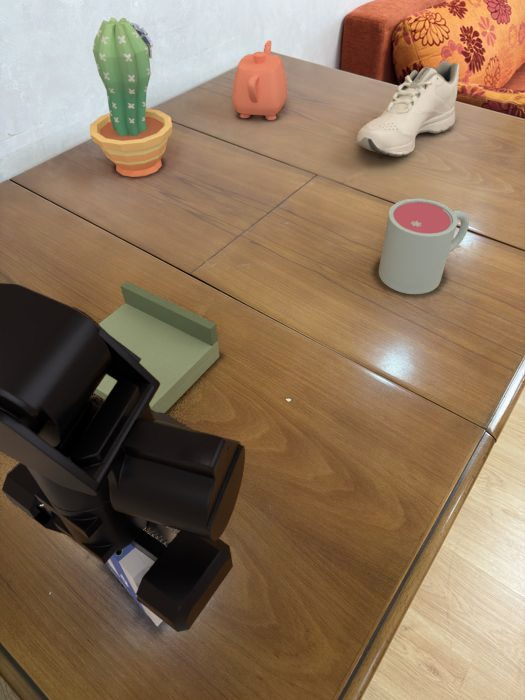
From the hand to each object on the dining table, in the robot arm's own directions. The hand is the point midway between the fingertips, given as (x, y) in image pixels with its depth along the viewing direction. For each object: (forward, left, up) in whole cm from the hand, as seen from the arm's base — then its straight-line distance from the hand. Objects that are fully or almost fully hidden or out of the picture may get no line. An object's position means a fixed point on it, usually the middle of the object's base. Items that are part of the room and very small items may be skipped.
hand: (135, 564), depth 47 cm
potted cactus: (+59, +56, -5) cm, 81 cm away
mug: (+58, -3, -5) cm, 58 cm away
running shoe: (+96, +17, -5) cm, 97 cm away
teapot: (+93, +50, -5) cm, 105 cm away
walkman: (0, 0, -5) cm, 5 cm away
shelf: (+20, +19, -5) cm, 28 cm away
